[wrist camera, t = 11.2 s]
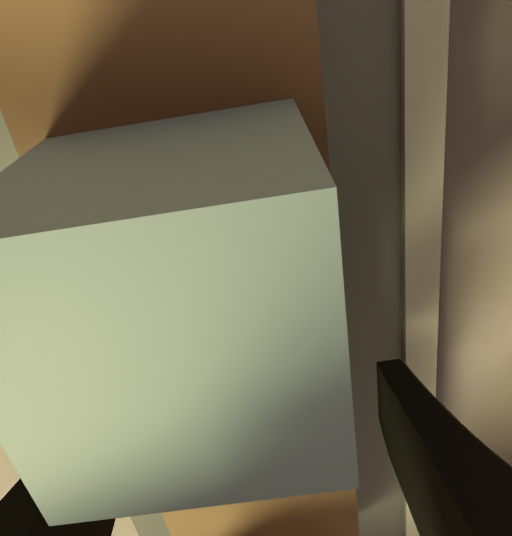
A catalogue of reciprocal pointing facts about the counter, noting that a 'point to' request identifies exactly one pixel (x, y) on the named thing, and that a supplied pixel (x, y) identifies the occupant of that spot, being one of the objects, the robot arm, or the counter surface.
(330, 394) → the block
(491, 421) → the counter surface
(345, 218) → the dock
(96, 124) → the board
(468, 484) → the robot arm
